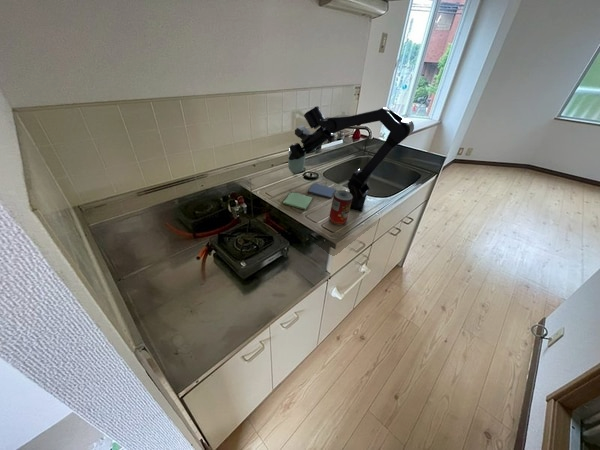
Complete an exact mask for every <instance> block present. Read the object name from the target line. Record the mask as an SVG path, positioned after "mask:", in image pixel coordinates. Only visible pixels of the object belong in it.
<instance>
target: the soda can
mask: <svg viewBox="0 0 600 450" xmlns="http://www.w3.org/2000/svg"><path fill="white" fill-rule="evenodd" d="M352 199H353V196H352V194H351V193H350V192H349V191H347V190H344V189H339V190H335V192H334V194H333V196H332V202H331V206H330V211H329V219H330V222H331V223H332V224H334V225H339V226H340V225H344V224H345V222H347V220H348V217H349V214H350V210H351V209H350V206H351V202H352Z"/></svg>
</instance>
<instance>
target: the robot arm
mask: <svg viewBox="0 0 600 450" xmlns="http://www.w3.org/2000/svg"><path fill="white" fill-rule="evenodd" d="M303 117H304V118H305V121H306V122H307V124H308V126H309V127H310V129H314V130H315V131H314V132H312V131H310V130H309V129H308V128H307V127H306V126H305V125H299V126H297V127H296V129H294V135H295V136H296V137H297V138H299V139H301V140H300V142H301V144H302V145H301V144H300V143H299V142H294V143H292V144H291V145H290V146H289V149H290V150H291V152H292V153H291V154H290V156H289V160H295V159H297V160H298V159H300V158H302V157H303V156H305V157H306V155H309V154H313V153H315V152H317V151H319V150H321V149H322V145H323V144H325V142H327V141H328V143H330V144H331V143H333V142H335V140H336V133H339V132H341V131H343V130H346V129H348V128H351V127H357V126H360V125H366V124H371V123H376V122H380V123H381V124H382V125H383V126H384V127H385V129H387V131H389V133H388V135H387V137H386V138H385V141H384V143H383V144H382V145H381V146H380V148H379V149H378V150H377V151H376V152H375V154H374V155H373V156H372V157H371V159H370V160H369V161H368V162H367V163H366V165H365V166H364V167H363V169H360V168H359V169H357V170H355V171H354V172H353V173H352V175H351V177H350V178H348V179H347V181H348V182H347V184H346V186H347V188H348V190H349V191H348V192H349V193H351V194H352V196H353V199H352V202H351V206H350V210H351V211H357V212H359V213H360V212H361V213H363V210H364V206H365V202H366V199H367V194H368V193H369V192H370V190H371V188H370V186H369V184H368V181H369V180H370V178H371V176H372V174H373V173H374V172H375V170H376V169H378V167H379V166H380V165H381V164H382V162H383V161H384V160H386V158H387V157H388V156H389V154H391V152H393V150H394V149H395V148H396V147H397V146H398V145H400V143H402V142H403V141H404V140H406V139H407V138H408V137H409V136H410V135H412V133H413V132H414V130H415V124H414V121H412V120H411V119H409V118H404V117H402V115H400V114H398V113H396V112H394V111H393V110H391V109H390V108H389V107H387V106H383V107H381V108H378V109H374V110H370V111H365V112H361V113H357V114H352V115H348V114H347V115H346V114H343V115H342V114H341V115H340V114H339V115H334V116H332V117H324V114H323V113H322V111H321V109H320V106H318V105H317V106H314V107H313V108H312V109H310V110H308V111H306V112H305V113H304V114H303ZM305 152H306V155H305Z"/></svg>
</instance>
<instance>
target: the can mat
mask: <svg viewBox="0 0 600 450" xmlns="http://www.w3.org/2000/svg"><path fill="white" fill-rule="evenodd" d="M335 192H336V188H334V187H329V186H326V185H322V184H318V183H313V184H312V185H311V187H310V188H309V190H308V191H307V193H308V194H311V195H316V196H319V197H323V198H327V199H332V198H333V196H334V193H335Z"/></svg>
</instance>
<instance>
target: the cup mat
mask: <svg viewBox="0 0 600 450" xmlns="http://www.w3.org/2000/svg"><path fill="white" fill-rule="evenodd" d="M312 200H313V197H311V196H308V195H304V194H302V193H301V194H300V193H298V192H293V191H292V192H290V193H289V194H288V195H287V197H286V198H285V199H284V200H283V201H282V204H283V205H284V206H285V205H286V206H289V207H293V208H296V209H301V210H303V211H305V210H306V209H307V208H308V206H309V205H310V204H311V201H312Z"/></svg>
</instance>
